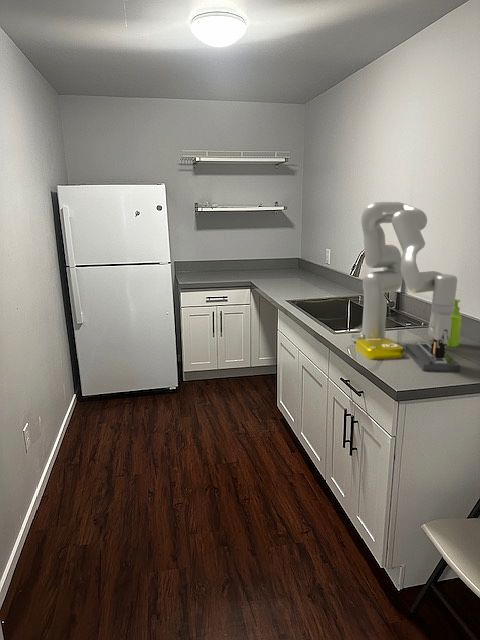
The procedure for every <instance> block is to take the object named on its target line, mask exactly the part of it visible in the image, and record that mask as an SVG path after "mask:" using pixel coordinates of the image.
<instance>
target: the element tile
mask: <svg viewBox="0 0 480 640" xmlns="http://www.w3.org/2000/svg"><path fill="white" fill-rule="evenodd" d="M355 350H356V351H357V352H359V353H360V354H361V355H362V356H363V357H365V358H366V359H368V360H386V359H389V360H390V359H400V358H401V359H402V358H403V355H404V347H403V346H401V345H400V344H398V343H397V342H395V341H393V340H392V339H390V338H388V337H384V338H375V339H374V338H373V339H355Z"/></svg>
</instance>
